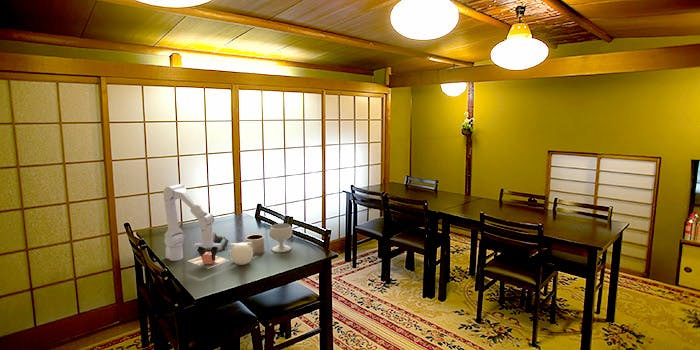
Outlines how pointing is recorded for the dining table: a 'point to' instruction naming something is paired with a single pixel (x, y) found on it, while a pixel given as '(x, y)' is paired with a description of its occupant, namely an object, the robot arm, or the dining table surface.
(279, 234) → the chalice
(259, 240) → the planter
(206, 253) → the strapped orange box
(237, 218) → the dining table surface
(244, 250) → the cat head
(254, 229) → the dining table surface
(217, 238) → the lucky cat figurine
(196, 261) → the board
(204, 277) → the dining table surface
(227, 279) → the dining table surface
